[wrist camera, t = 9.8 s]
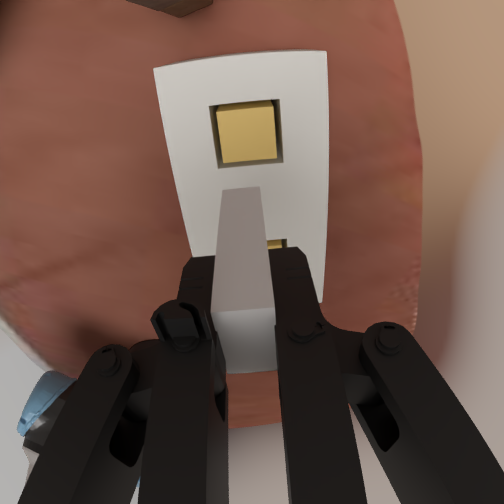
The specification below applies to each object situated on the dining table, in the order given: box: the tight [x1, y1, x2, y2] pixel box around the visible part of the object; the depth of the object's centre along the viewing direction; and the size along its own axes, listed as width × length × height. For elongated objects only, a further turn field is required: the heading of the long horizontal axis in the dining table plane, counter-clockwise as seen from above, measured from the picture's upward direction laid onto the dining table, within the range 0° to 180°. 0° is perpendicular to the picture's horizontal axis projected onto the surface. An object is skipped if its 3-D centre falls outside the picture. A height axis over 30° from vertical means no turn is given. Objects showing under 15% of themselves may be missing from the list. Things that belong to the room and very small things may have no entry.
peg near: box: [216, 100, 277, 163], centre depth 25 cm, size 4×4×8 cm
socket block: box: [153, 49, 329, 303], centre depth 29 cm, size 24×12×8 cm, turn 5°
